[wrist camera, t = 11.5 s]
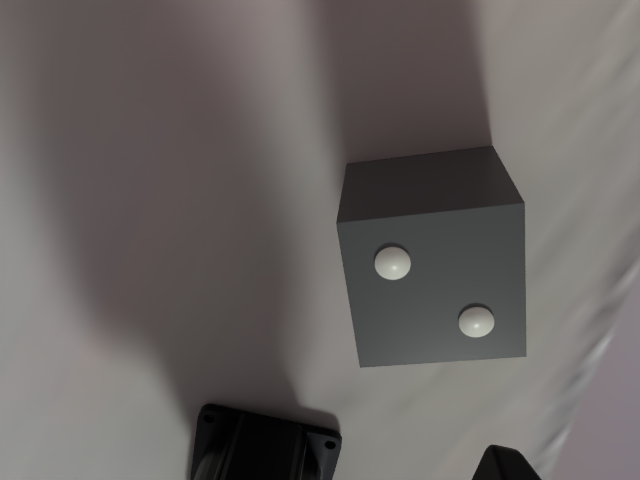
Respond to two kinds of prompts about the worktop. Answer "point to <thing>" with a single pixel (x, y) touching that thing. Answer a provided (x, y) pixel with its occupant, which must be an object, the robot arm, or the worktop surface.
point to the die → (434, 258)
